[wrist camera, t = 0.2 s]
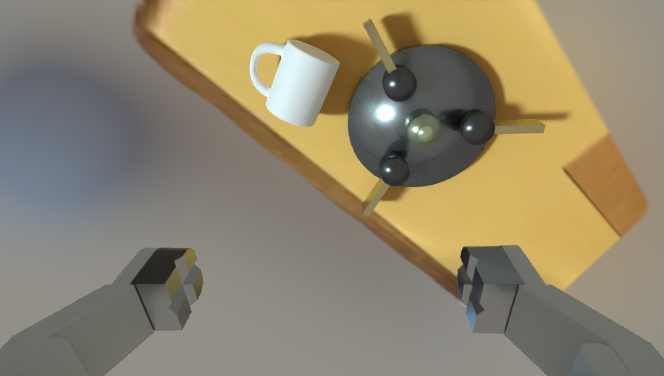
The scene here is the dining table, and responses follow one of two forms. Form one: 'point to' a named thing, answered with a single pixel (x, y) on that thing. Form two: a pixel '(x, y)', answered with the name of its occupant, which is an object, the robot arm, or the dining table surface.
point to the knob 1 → (392, 70)
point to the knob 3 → (493, 126)
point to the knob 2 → (387, 179)
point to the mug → (296, 80)
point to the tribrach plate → (431, 92)
